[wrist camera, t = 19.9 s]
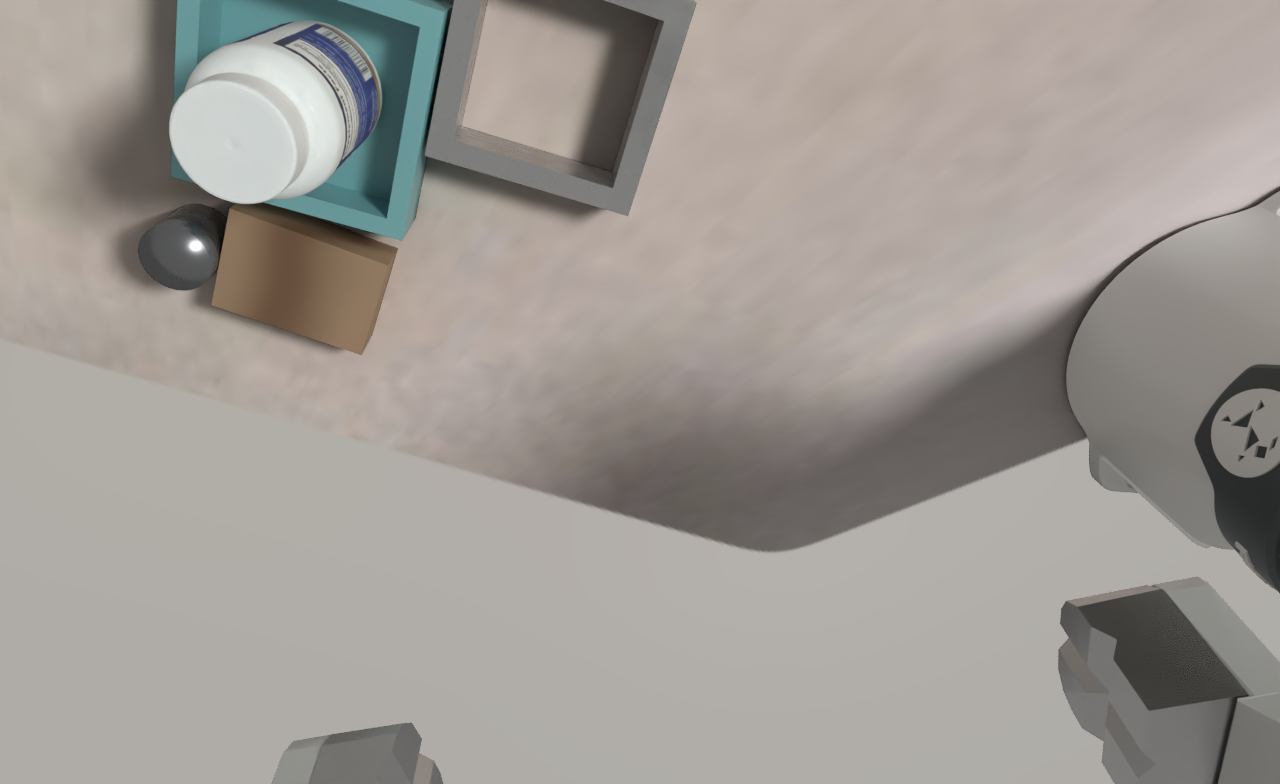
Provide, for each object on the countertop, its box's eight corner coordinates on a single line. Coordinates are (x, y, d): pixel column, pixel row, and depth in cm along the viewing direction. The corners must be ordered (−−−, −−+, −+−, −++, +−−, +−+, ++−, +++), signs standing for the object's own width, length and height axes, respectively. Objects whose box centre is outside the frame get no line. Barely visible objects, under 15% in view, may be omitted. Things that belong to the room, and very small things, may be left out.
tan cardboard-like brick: (399, 245, 40) (388, 265, 38) (373, 331, 42) (361, 355, 40) (250, 191, 38) (229, 208, 36) (231, 283, 41) (211, 305, 38)
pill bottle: (267, 149, 36) (167, 224, 28) (242, 15, 34) (123, 54, 25) (392, 153, 37) (331, 227, 28) (377, 20, 34) (304, 59, 25)
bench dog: (238, 214, 39) (212, 236, 36) (233, 272, 40) (208, 297, 37) (170, 195, 38) (138, 217, 35) (167, 255, 39) (137, 279, 37)
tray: (456, 3, 34) (444, 12, 32) (415, 218, 39) (402, 240, 36) (213, -77, 33) (180, -76, 30) (200, 157, 37) (170, 176, 35)
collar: (690, -4, 35) (696, 3, 32) (626, 198, 39) (628, 216, 37) (477, -79, 33) (468, -78, 31) (434, 141, 37) (424, 155, 35)
